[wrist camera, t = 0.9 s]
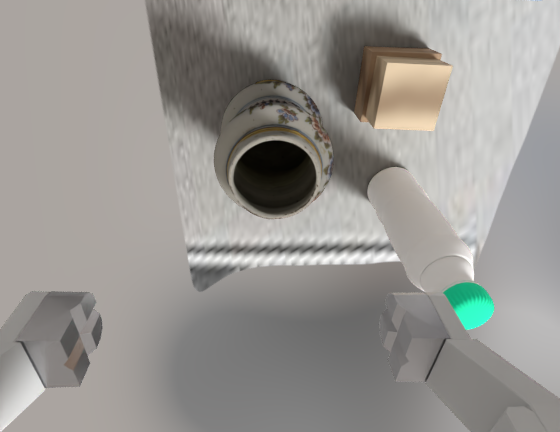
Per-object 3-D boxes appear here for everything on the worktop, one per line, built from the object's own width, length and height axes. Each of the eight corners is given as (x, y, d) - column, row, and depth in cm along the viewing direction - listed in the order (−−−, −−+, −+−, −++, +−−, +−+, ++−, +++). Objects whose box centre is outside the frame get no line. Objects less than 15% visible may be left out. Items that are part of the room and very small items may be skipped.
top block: (376, 55, 41) (387, 62, 37) (437, 58, 41) (452, 65, 38) (365, 117, 45) (373, 128, 41) (420, 119, 45) (433, 130, 42)
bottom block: (363, 45, 44) (372, 51, 41) (428, 48, 44) (441, 53, 41) (353, 111, 48) (360, 121, 45) (412, 113, 49) (423, 123, 45)
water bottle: (423, 176, 54) (527, 302, 33) (394, 212, 57) (473, 348, 36) (384, 157, 52) (469, 279, 31) (357, 196, 55) (417, 330, 34)
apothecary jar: (275, 47, 43) (284, 85, 28) (334, 122, 49) (368, 187, 34) (205, 114, 47) (180, 178, 32) (267, 176, 52) (270, 256, 37)
